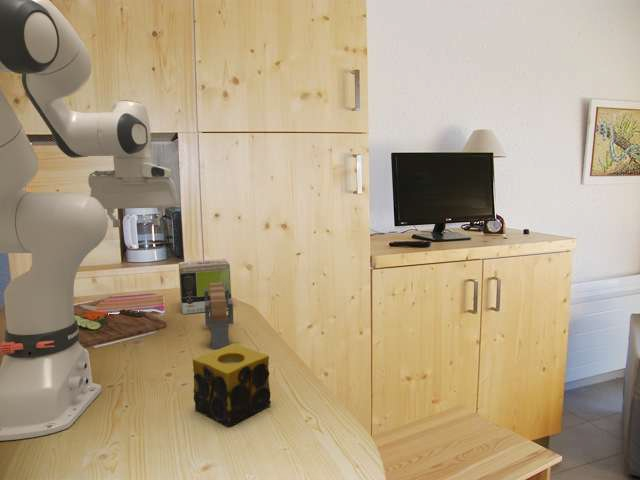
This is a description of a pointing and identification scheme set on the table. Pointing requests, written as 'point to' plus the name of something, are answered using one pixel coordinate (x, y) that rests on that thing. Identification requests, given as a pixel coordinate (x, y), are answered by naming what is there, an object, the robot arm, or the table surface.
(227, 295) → the bracket far
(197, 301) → the tea box
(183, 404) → the table surface
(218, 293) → the rail
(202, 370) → the yellow and black cube
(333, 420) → the table surface
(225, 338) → the bracket near
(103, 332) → the chopping board
